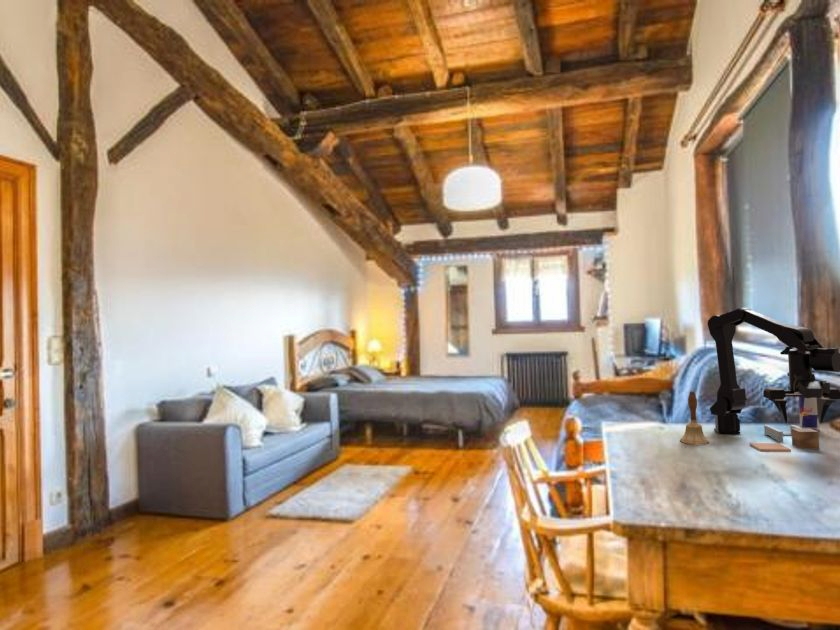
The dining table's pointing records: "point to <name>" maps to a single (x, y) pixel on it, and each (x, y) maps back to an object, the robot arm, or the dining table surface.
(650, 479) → the dining table surface
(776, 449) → the coaster
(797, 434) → the walnut block
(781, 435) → the channel
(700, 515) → the dining table surface
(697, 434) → the hand bell
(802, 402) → the energy drink
